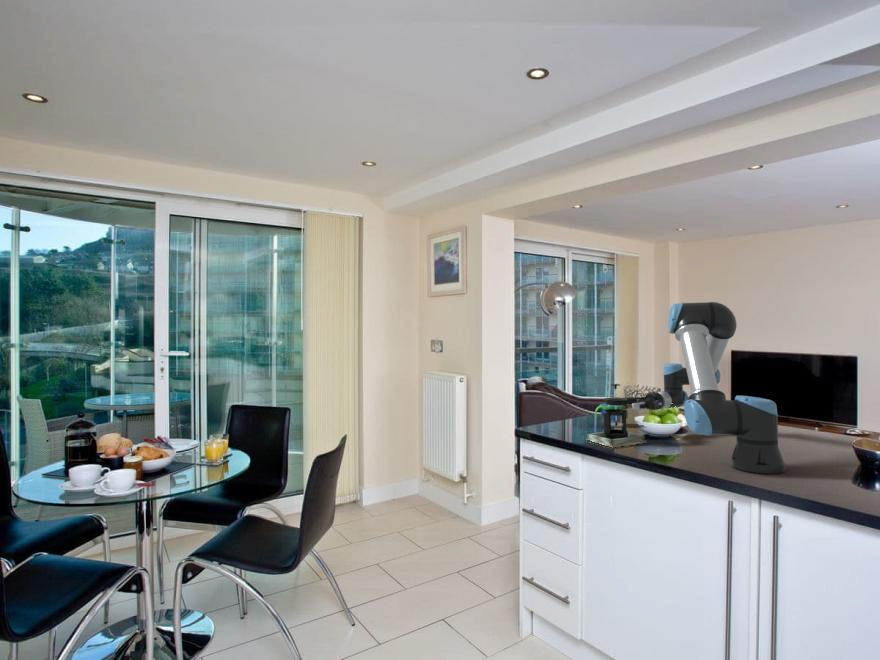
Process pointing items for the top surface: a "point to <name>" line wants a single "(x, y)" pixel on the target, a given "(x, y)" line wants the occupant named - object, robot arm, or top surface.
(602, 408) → the snack cup
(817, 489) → the top surface
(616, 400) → the french press
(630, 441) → the tray
